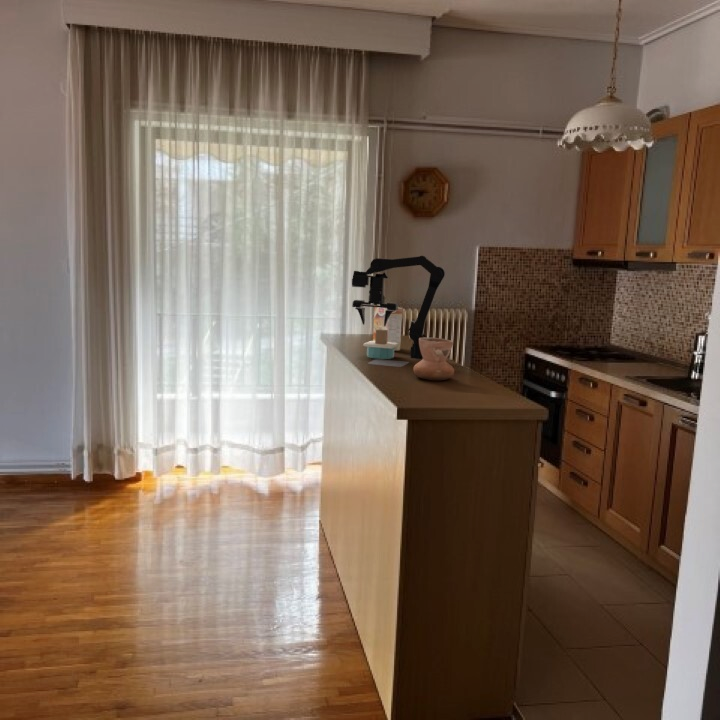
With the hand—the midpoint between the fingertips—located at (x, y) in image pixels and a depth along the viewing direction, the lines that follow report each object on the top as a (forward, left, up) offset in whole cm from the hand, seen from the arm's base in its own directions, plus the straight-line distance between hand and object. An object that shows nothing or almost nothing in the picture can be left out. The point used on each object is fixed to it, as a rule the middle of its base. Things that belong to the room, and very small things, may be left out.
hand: (374, 325), depth 299 cm
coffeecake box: (0, -25, -13) cm, 28 cm away
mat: (-12, +19, -13) cm, 26 cm away
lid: (-5, +5, -8) cm, 10 cm away
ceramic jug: (-34, +42, -13) cm, 56 cm away
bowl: (-5, +5, -13) cm, 14 cm away
